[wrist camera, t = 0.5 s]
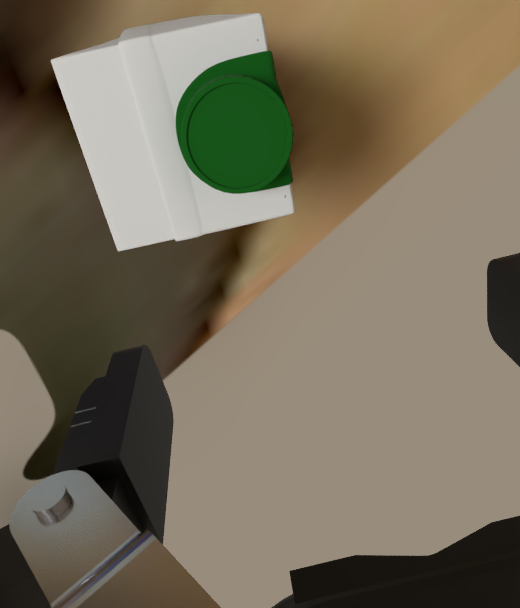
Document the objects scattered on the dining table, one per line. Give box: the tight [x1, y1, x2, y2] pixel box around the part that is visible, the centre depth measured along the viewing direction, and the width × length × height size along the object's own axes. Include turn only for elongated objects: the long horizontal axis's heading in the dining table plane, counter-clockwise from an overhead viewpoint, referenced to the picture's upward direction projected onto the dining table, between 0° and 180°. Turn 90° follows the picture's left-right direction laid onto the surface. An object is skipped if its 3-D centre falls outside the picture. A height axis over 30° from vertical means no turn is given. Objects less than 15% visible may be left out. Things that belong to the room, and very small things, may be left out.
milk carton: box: [51, 13, 295, 251], centre depth 26 cm, size 9×9×20 cm
